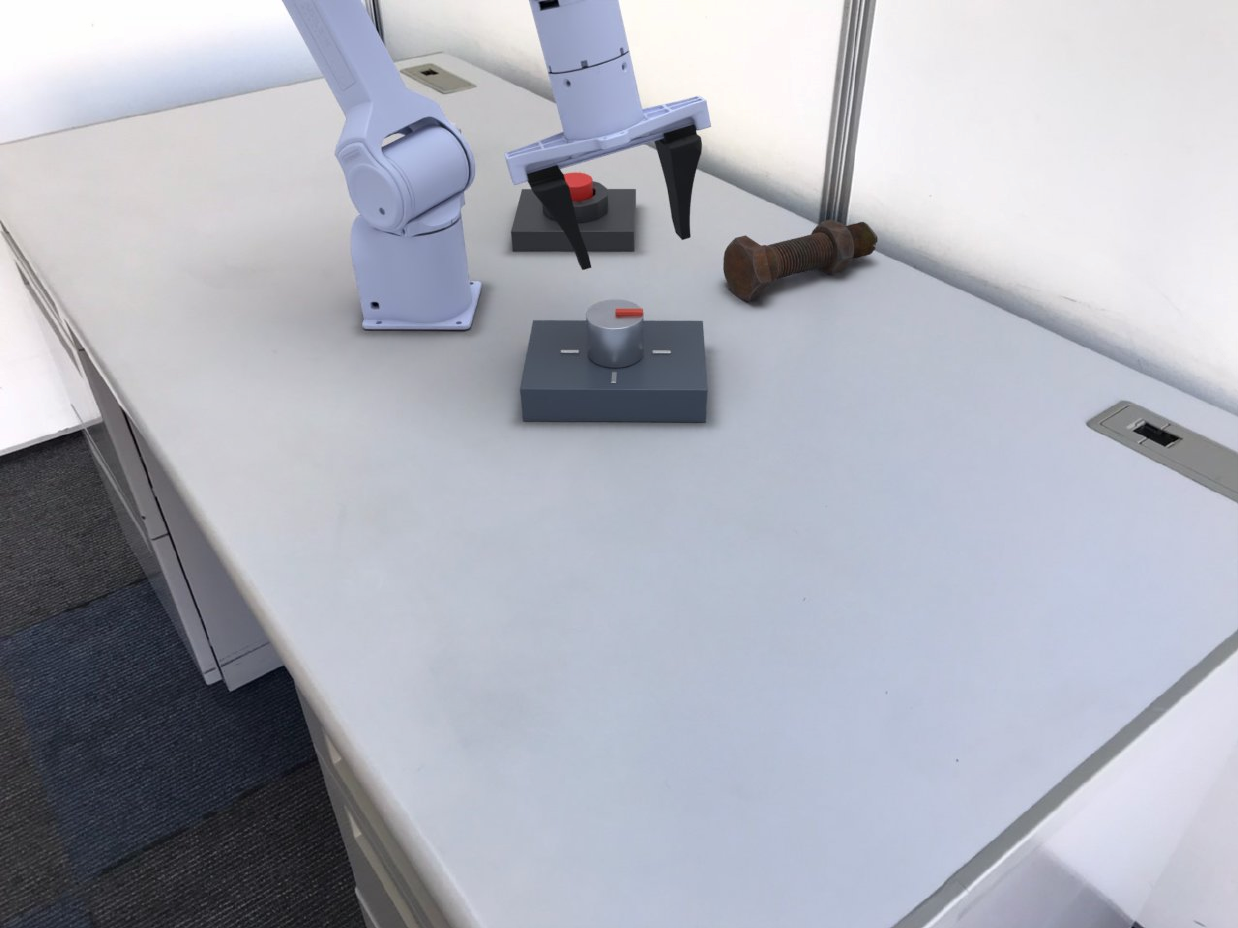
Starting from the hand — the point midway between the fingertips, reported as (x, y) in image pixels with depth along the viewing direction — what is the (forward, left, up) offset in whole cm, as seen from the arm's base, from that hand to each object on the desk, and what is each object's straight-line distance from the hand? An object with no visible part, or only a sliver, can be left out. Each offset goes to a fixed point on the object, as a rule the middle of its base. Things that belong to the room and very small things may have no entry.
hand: (634, 250), depth 74 cm
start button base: (-6, +27, -11) cm, 29 cm away
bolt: (+16, +17, -11) cm, 25 cm away
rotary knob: (-1, -1, -8) cm, 8 cm away
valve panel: (-1, -1, -11) cm, 11 cm away
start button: (-6, +27, -7) cm, 28 cm away
